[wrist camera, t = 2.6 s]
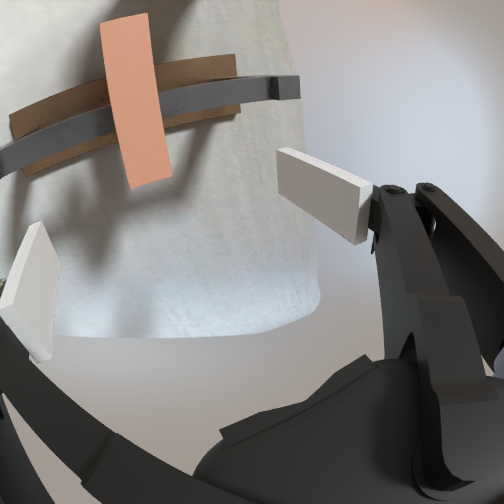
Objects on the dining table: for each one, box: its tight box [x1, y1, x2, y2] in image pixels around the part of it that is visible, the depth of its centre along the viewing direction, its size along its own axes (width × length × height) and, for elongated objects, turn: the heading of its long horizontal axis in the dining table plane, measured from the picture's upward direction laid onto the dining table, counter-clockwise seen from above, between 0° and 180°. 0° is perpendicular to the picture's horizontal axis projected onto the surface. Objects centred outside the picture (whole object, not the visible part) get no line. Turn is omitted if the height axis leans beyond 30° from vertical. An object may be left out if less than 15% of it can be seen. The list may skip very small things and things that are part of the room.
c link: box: [100, 13, 173, 189], centre depth 20 cm, size 3×12×12 cm, turn 8°
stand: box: [0, 54, 301, 179], centre depth 23 cm, size 28×8×16 cm, turn 97°
